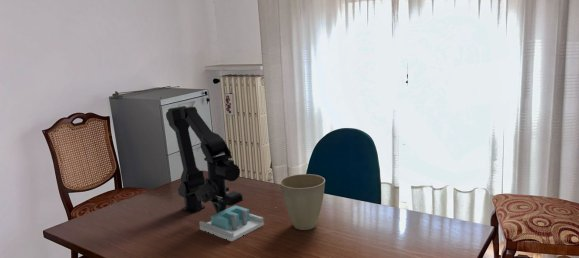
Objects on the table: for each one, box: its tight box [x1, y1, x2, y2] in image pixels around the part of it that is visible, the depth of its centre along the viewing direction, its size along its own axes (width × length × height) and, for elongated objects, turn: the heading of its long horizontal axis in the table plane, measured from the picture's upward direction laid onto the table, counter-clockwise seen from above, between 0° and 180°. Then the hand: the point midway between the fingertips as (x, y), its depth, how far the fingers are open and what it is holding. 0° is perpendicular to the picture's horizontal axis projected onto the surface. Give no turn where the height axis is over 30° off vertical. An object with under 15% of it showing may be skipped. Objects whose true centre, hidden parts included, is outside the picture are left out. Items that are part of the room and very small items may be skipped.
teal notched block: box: [210, 204, 250, 231], centre depth 155 cm, size 7×11×4 cm, turn 139°
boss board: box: [199, 210, 265, 242], centre depth 155 cm, size 16×15×6 cm
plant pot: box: [279, 173, 326, 231], centre depth 152 cm, size 15×15×16 cm
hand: (220, 217), depth 158 cm, fingers closed
